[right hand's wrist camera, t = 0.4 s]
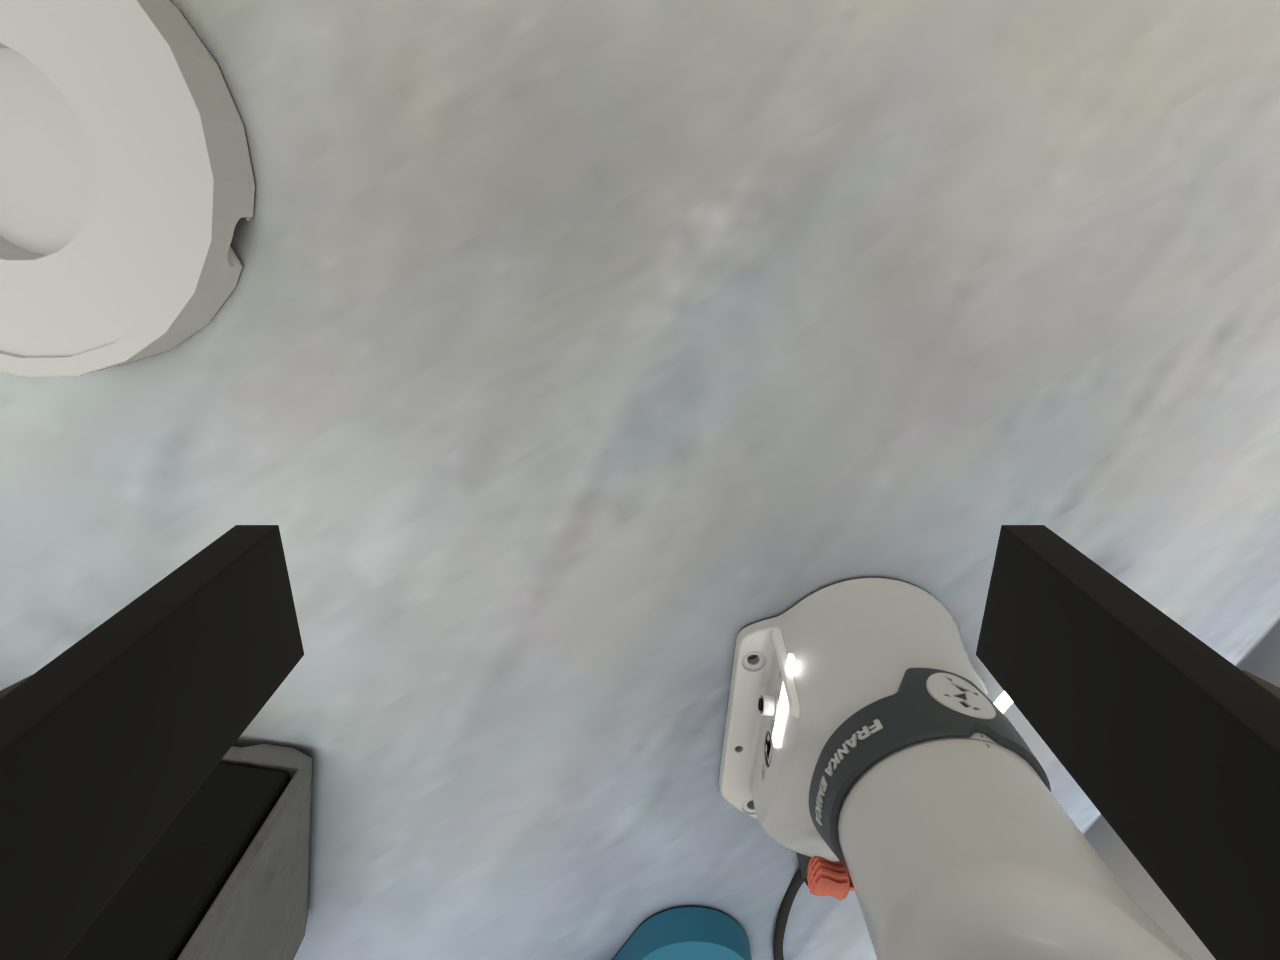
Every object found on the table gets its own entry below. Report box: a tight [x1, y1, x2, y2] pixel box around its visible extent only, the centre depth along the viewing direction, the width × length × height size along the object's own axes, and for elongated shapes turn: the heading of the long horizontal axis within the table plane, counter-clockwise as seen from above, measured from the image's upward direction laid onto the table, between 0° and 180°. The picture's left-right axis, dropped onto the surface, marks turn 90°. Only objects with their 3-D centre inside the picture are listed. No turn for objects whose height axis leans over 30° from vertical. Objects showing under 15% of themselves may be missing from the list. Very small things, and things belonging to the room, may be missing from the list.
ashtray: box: [0, 0, 255, 377], centre depth 36 cm, size 23×23×4 cm
